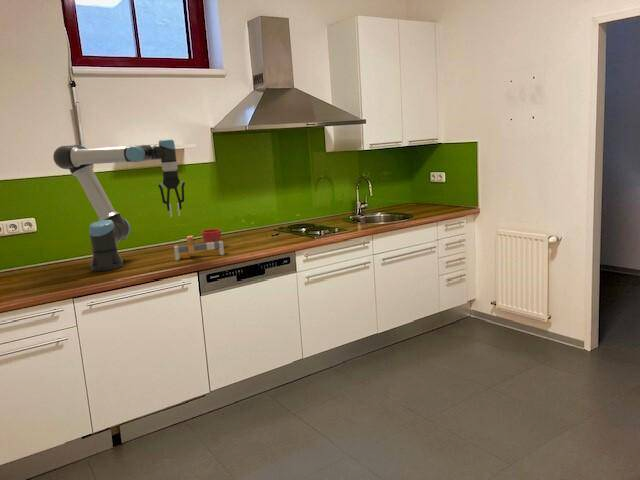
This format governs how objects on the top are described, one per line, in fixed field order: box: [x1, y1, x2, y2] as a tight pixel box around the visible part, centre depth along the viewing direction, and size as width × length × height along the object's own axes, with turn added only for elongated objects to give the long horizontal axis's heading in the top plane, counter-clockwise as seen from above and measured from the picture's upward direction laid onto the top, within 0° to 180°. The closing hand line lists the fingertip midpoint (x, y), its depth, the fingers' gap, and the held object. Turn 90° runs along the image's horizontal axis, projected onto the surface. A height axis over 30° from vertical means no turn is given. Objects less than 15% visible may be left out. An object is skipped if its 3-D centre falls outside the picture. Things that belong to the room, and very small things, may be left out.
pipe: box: [173, 240, 225, 261], centre depth 281 cm, size 25×6×7 cm, turn 104°
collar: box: [186, 234, 196, 257], centre depth 279 cm, size 3×7×10 cm, turn 15°
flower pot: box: [201, 228, 222, 243], centre depth 302 cm, size 11×11×10 cm
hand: (175, 216), depth 275 cm, fingers open, 3 cm apart
